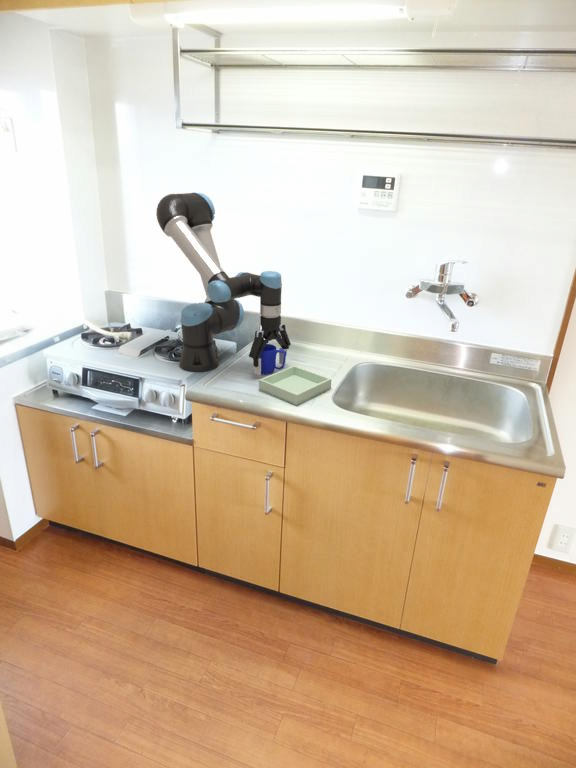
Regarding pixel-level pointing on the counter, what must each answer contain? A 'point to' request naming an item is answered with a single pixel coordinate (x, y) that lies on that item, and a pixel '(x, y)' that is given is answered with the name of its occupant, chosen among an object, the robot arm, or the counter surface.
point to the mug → (270, 359)
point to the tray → (295, 385)
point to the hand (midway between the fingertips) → (270, 369)
